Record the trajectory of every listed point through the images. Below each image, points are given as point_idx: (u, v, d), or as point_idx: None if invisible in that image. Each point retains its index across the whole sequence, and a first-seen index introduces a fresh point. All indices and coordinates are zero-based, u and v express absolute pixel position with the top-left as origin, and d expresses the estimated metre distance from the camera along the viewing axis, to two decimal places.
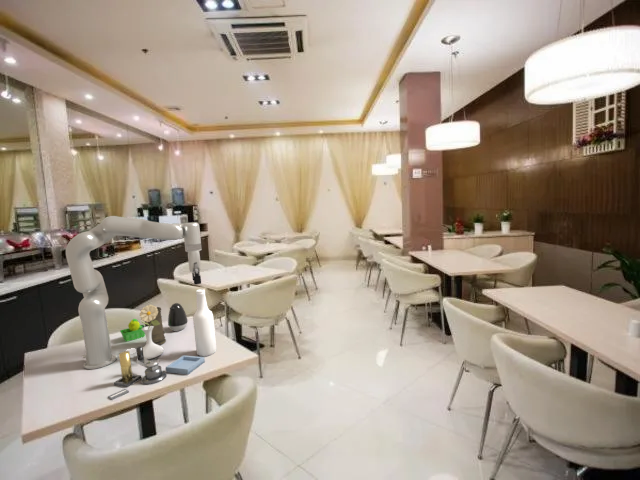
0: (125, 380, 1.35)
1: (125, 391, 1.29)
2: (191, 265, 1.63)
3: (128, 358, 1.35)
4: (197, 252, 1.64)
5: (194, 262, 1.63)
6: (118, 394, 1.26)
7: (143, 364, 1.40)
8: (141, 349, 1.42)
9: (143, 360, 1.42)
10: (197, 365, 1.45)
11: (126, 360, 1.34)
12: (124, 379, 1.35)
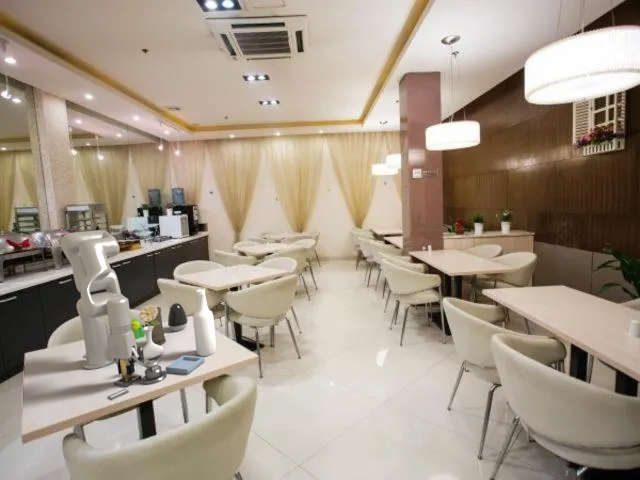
0: (125, 380, 1.35)
1: (125, 391, 1.29)
2: (129, 350, 1.32)
3: None
4: (132, 333, 1.35)
5: (132, 346, 1.33)
6: (118, 394, 1.26)
7: (143, 364, 1.40)
8: (141, 349, 1.42)
9: (143, 360, 1.42)
10: (197, 365, 1.45)
11: None
12: (124, 379, 1.35)
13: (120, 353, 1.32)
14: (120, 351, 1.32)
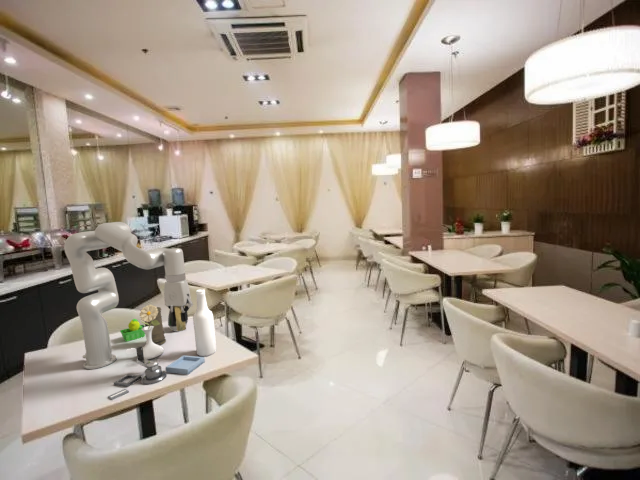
0: (179, 327, 1.43)
1: (125, 391, 1.29)
2: (184, 297, 1.40)
3: None
4: (187, 282, 1.42)
5: (187, 293, 1.41)
6: (118, 394, 1.26)
7: (143, 364, 1.40)
8: (141, 349, 1.42)
9: (143, 360, 1.42)
10: (197, 365, 1.45)
11: None
12: (178, 326, 1.43)
13: (176, 300, 1.40)
14: (176, 298, 1.40)
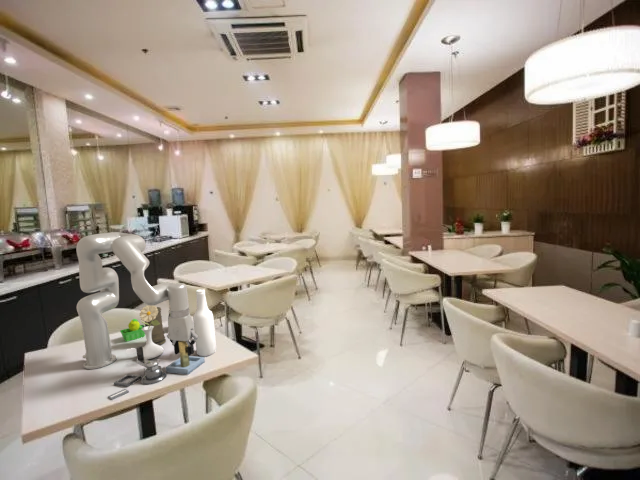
0: (183, 363, 1.44)
1: (125, 391, 1.29)
2: (188, 333, 1.41)
3: (186, 343, 1.45)
4: (190, 316, 1.44)
5: (190, 328, 1.42)
6: (118, 394, 1.26)
7: (143, 364, 1.40)
8: (141, 349, 1.42)
9: (143, 360, 1.42)
10: (197, 365, 1.45)
11: (185, 344, 1.44)
12: (182, 362, 1.44)
13: (180, 335, 1.42)
14: (180, 333, 1.42)
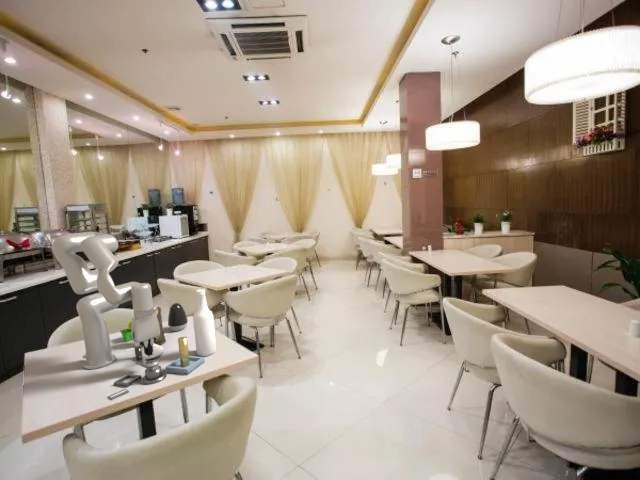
0: (183, 363, 1.44)
1: (125, 391, 1.29)
2: None
3: (186, 343, 1.45)
4: (135, 321, 1.39)
5: (132, 331, 1.40)
6: (118, 394, 1.26)
7: (142, 364, 1.39)
8: (140, 350, 1.42)
9: (141, 360, 1.42)
10: (197, 365, 1.45)
11: (185, 344, 1.44)
12: (182, 362, 1.44)
13: None
14: None
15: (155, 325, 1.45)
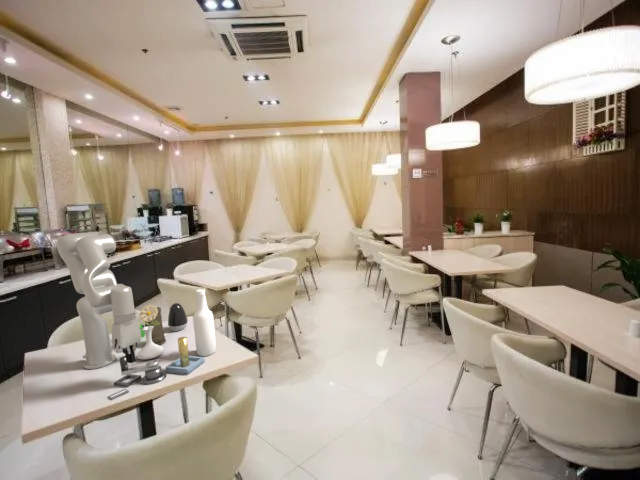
0: (183, 363, 1.44)
1: (125, 391, 1.29)
2: (112, 341, 1.33)
3: (186, 343, 1.45)
4: (118, 326, 1.32)
5: (114, 338, 1.32)
6: (118, 394, 1.26)
7: (137, 370, 1.35)
8: (126, 358, 1.34)
9: (129, 368, 1.35)
10: (197, 365, 1.45)
11: (184, 345, 1.44)
12: (182, 362, 1.44)
13: None
14: None
15: (137, 329, 1.39)
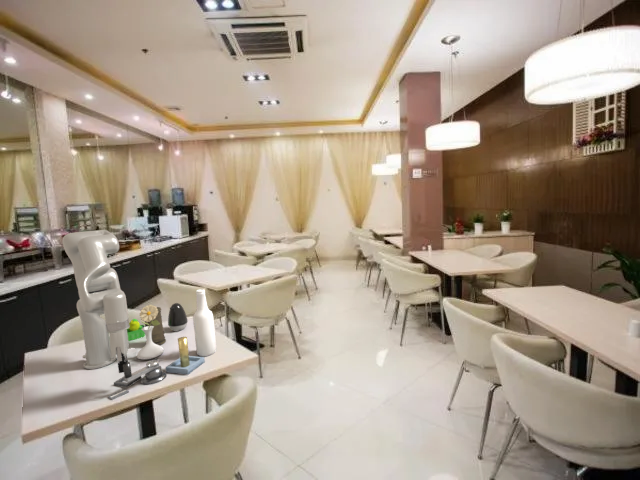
0: (183, 363, 1.44)
1: (125, 391, 1.29)
2: (112, 351, 1.25)
3: (186, 343, 1.45)
4: (121, 333, 1.26)
5: (116, 346, 1.25)
6: (118, 394, 1.26)
7: (142, 373, 1.32)
8: None
9: (132, 374, 1.30)
10: (197, 365, 1.45)
11: (185, 345, 1.44)
12: (182, 362, 1.44)
13: None
14: None
15: None
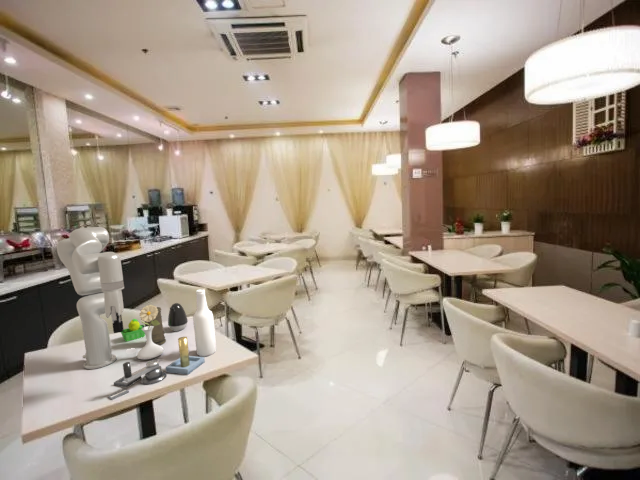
0: (183, 363, 1.44)
1: (125, 391, 1.29)
2: (107, 309, 1.27)
3: (186, 343, 1.45)
4: (115, 292, 1.29)
5: (111, 305, 1.28)
6: (118, 394, 1.26)
7: (142, 373, 1.32)
8: None
9: (132, 374, 1.30)
10: (197, 365, 1.45)
11: (185, 344, 1.44)
12: (182, 362, 1.44)
13: None
14: None
15: (122, 298, 1.36)
